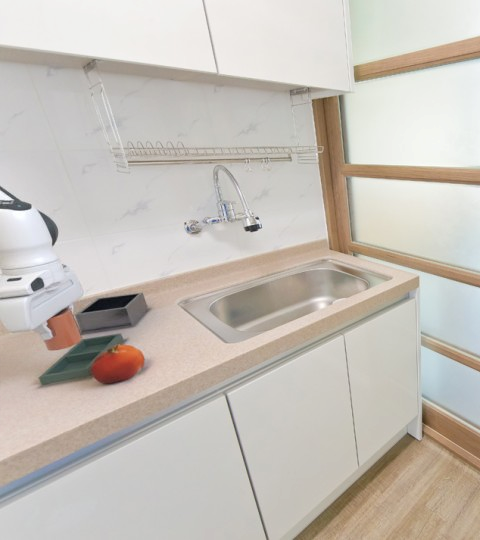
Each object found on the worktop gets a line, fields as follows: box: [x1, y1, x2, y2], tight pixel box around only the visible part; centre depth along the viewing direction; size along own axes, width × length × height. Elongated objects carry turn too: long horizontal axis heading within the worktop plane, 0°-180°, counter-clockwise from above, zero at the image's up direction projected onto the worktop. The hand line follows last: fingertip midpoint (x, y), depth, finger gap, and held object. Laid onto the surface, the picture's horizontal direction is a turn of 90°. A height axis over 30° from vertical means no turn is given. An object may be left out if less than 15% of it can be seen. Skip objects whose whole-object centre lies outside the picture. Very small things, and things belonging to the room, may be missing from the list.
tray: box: [38, 333, 124, 386], centre depth 84 cm, size 9×17×3 cm, turn 18°
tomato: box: [91, 343, 146, 384], centre depth 77 cm, size 9×9×8 cm
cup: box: [43, 308, 83, 352], centre depth 77 cm, size 6×6×8 cm
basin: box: [74, 292, 149, 335], centre depth 104 cm, size 13×13×7 cm
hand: (59, 330), depth 77 cm, fingers closed on cup, 6 cm apart
